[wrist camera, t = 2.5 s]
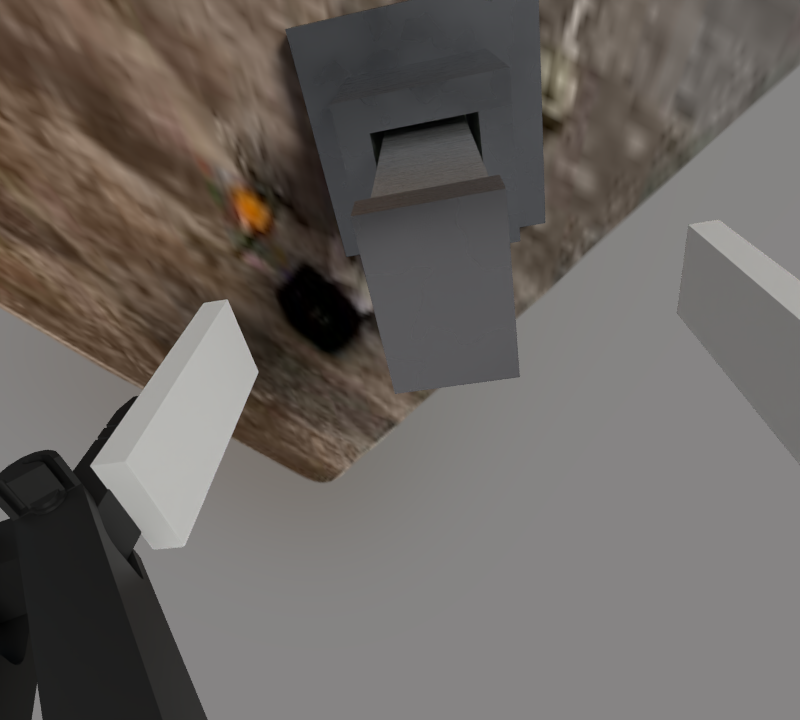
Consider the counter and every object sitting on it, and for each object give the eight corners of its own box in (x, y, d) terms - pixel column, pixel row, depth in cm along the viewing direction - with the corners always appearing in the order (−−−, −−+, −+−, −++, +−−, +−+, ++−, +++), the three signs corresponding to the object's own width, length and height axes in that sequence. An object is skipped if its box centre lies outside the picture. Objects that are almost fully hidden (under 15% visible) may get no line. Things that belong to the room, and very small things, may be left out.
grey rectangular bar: (402, 190, 34) (390, 394, 17) (383, 89, 31) (344, 217, 14) (468, 178, 34) (524, 376, 16) (456, 74, 30) (511, 187, 13)
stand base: (349, 245, 39) (329, 322, 30) (292, 27, 31) (242, 42, 22) (539, 212, 37) (579, 283, 28) (530, -28, 29) (582, -37, 20)
